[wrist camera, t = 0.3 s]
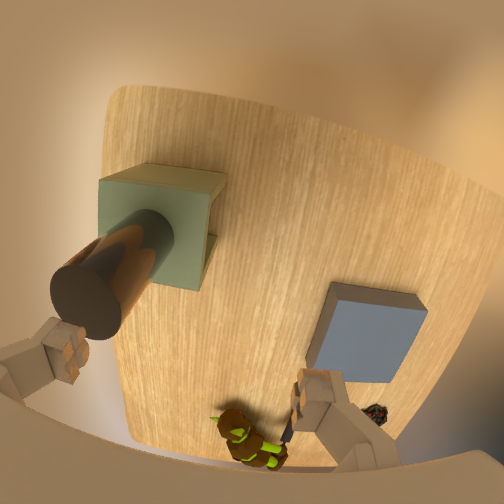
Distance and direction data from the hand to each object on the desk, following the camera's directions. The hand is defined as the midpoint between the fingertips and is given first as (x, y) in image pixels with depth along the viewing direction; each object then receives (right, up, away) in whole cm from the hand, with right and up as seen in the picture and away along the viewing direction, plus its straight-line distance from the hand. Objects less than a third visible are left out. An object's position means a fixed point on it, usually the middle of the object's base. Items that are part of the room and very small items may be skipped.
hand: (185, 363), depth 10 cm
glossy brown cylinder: (-6, +5, +12) cm, 14 cm away
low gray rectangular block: (+16, -6, +27) cm, 32 cm away
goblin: (+3, -24, +35) cm, 43 cm away
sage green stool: (-5, +9, +22) cm, 24 cm away
